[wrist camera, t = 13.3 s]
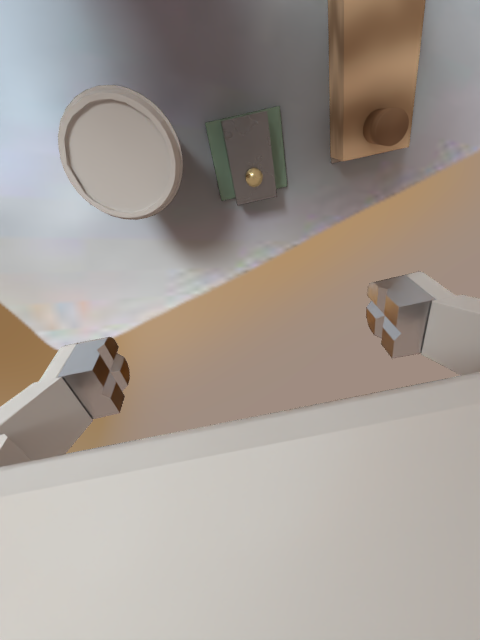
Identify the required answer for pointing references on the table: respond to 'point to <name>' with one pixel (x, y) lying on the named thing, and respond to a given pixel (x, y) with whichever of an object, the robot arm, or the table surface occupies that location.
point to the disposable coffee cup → (120, 152)
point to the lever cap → (250, 157)
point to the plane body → (372, 74)
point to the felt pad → (221, 155)
